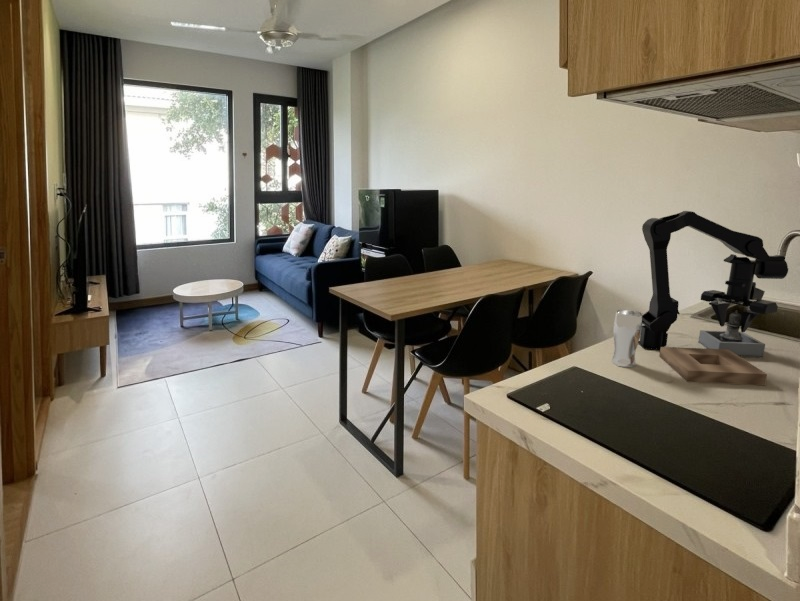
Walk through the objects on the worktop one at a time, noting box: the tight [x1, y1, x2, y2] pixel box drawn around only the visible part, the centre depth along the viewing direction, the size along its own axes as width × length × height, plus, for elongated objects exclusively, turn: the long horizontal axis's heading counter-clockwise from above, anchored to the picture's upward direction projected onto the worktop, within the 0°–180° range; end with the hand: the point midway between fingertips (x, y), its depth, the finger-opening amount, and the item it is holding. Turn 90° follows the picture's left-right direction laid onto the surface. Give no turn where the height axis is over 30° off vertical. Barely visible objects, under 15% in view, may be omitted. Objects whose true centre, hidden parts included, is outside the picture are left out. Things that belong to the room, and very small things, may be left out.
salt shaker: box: [720, 309, 743, 342], centre depth 137 cm, size 6×6×12 cm
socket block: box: [658, 346, 768, 386], centre depth 123 cm, size 18×18×3 cm
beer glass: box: [611, 308, 643, 368], centre depth 127 cm, size 7×7×15 cm
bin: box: [698, 329, 766, 358], centre depth 138 cm, size 12×12×4 cm
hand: (732, 329), depth 137 cm, fingers open, 6 cm apart
